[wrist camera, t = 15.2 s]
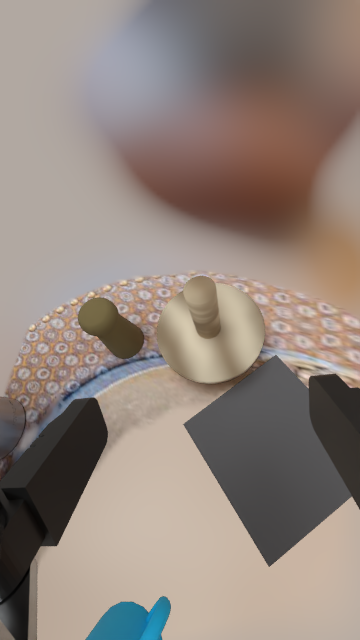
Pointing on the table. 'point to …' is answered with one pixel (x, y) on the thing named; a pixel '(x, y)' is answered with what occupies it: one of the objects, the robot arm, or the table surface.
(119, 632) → the mug
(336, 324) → the table surface
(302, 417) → the mat
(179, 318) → the lid
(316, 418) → the robot arm
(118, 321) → the olive pawn
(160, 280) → the table surface
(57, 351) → the table surface
